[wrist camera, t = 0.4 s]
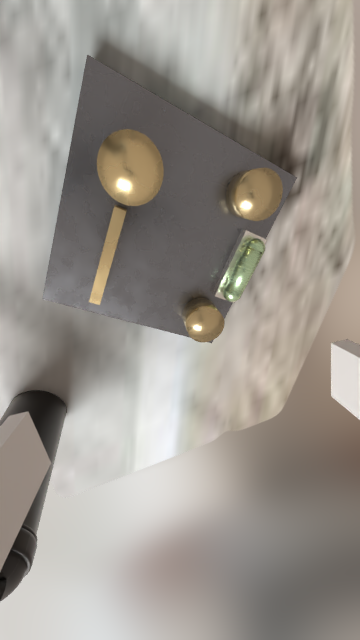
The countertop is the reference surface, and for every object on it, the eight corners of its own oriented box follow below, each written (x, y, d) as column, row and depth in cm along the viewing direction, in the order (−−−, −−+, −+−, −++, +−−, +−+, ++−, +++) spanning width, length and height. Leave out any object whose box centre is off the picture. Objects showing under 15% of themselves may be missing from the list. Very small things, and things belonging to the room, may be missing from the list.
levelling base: (90, 65, 23) (80, 31, 18) (287, 178, 31) (317, 176, 26) (47, 293, 32) (32, 311, 27) (208, 336, 40) (219, 356, 35)
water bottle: (-10, 414, 39) (-157, 649, 19) (28, 375, 37) (-90, 592, 17) (47, 438, 44) (-23, 648, 24) (84, 405, 42) (43, 603, 22)
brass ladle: (109, 124, 23) (106, 114, 20) (167, 154, 25) (173, 149, 22) (72, 284, 30) (66, 295, 27) (121, 298, 32) (120, 310, 29)
